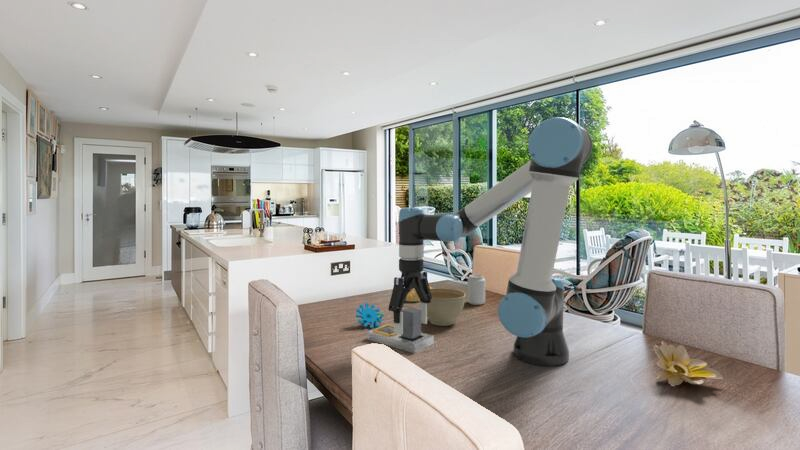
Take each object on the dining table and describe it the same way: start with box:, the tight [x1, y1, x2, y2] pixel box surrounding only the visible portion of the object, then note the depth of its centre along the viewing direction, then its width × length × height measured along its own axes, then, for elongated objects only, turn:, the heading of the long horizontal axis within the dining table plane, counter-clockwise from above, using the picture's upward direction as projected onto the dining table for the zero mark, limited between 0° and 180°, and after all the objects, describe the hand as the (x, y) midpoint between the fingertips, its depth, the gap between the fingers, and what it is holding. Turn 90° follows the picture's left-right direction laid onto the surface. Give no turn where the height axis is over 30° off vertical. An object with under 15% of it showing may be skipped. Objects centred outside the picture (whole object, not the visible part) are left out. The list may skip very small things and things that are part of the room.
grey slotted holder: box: [366, 323, 435, 354], centre depth 130 cm, size 19×10×3 cm, turn 51°
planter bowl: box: [427, 287, 466, 327], centre depth 149 cm, size 16×16×11 cm
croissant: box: [405, 284, 434, 303], centre depth 183 cm, size 21×10×8 cm
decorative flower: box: [653, 341, 724, 386], centre depth 100 cm, size 15×11×10 cm
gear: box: [355, 302, 386, 330], centre depth 147 cm, size 11×6×10 cm
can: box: [466, 274, 486, 306], centre depth 175 cm, size 8×8×12 cm
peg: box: [401, 306, 422, 341], centre depth 127 cm, size 4×4×11 cm
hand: (411, 327), depth 127 cm, fingers open, 12 cm apart
